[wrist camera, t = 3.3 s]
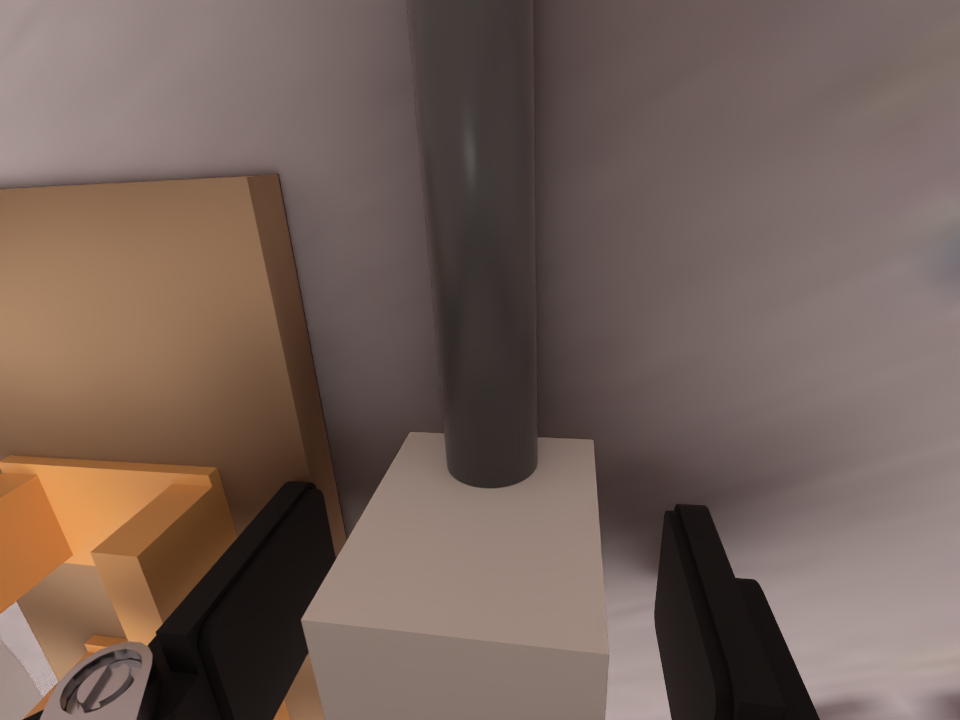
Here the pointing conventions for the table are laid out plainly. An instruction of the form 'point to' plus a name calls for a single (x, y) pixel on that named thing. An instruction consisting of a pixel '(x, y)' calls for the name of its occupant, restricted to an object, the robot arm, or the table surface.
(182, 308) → the board
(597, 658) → the connector
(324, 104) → the table surface
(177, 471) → the clip
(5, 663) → the dish
